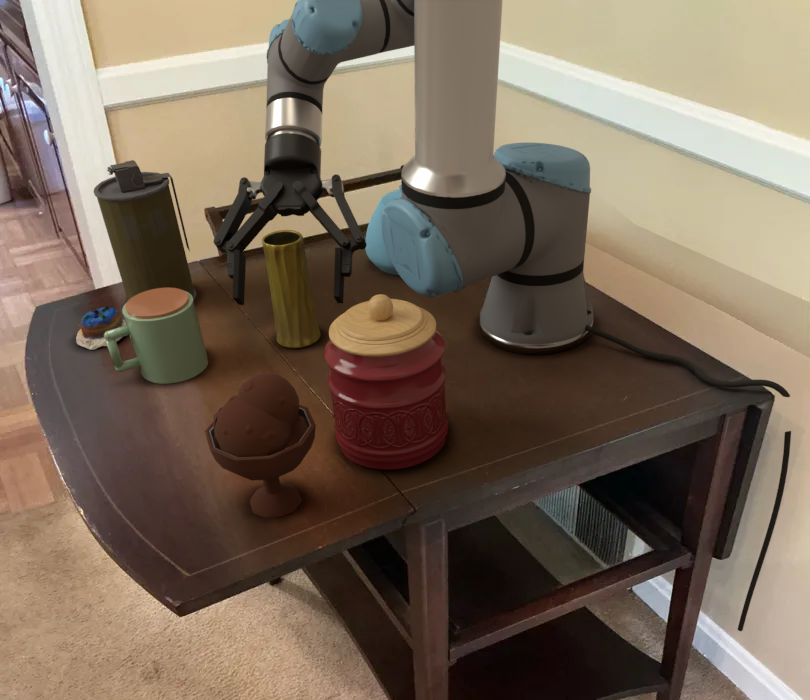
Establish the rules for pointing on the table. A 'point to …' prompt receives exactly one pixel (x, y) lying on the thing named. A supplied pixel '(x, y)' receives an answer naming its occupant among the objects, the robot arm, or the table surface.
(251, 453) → the ice cream bowl
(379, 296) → the kitchen canister
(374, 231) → the sugar bowl
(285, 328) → the vase
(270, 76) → the robot arm
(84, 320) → the dessert
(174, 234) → the canister
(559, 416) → the table surface
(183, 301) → the mug
